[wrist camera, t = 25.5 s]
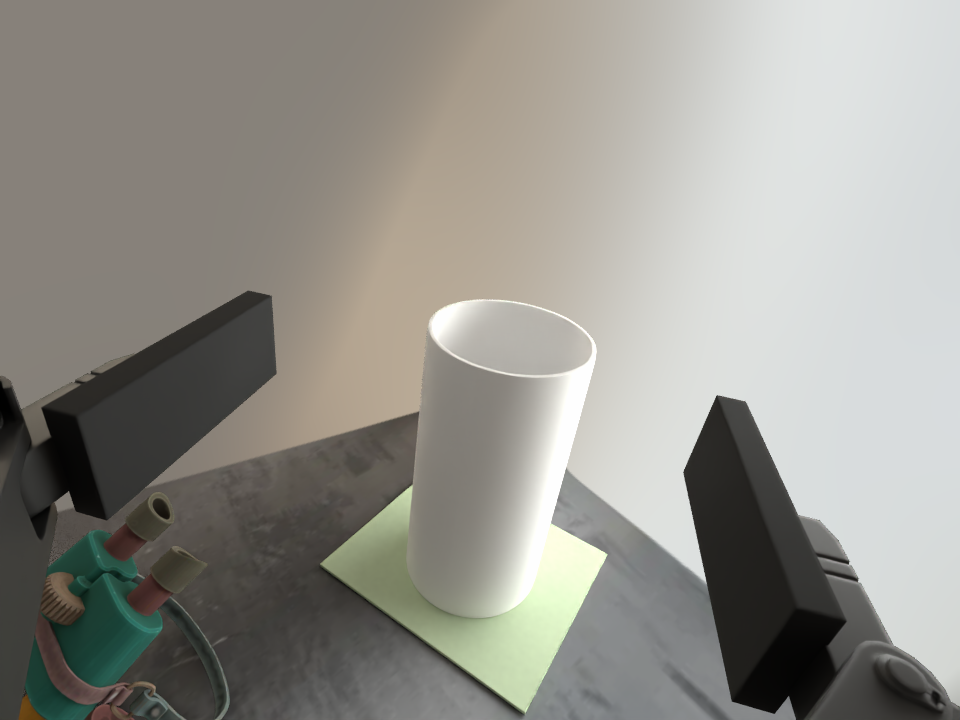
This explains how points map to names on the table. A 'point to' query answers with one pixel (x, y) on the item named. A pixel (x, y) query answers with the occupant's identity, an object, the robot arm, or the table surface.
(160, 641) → the table surface
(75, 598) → the binoculars
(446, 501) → the cup
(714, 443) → the robot arm
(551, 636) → the placemat
